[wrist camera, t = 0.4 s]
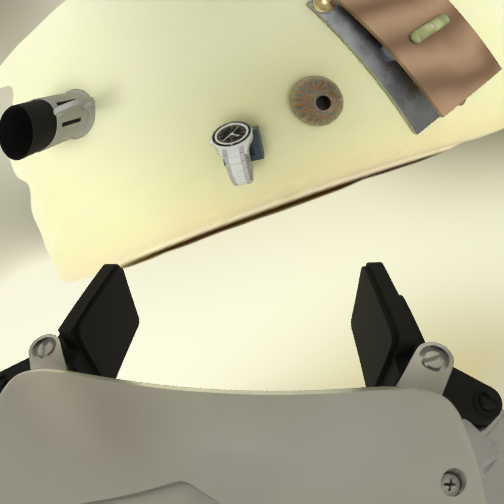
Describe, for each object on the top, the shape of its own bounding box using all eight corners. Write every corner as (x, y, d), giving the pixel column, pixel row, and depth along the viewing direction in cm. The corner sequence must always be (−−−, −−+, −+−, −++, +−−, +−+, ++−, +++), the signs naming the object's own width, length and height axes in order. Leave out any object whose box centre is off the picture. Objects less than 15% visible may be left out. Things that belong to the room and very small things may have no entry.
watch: (255, 113, 41) (251, 121, 31) (266, 165, 45) (265, 188, 35) (217, 121, 42) (201, 132, 32) (229, 172, 46) (218, 197, 36)
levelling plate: (337, 3, 29) (339, -7, 26) (403, -36, 23) (408, -46, 20) (439, 117, 32) (449, 116, 29) (496, 70, 26) (507, 67, 23)
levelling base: (306, 4, 32) (311, -6, 27) (392, -47, 25) (405, -59, 20) (413, 132, 40) (429, 139, 35) (484, 75, 33) (503, 77, 28)
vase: (340, 118, 40) (357, 126, 33) (294, 126, 42) (301, 136, 34) (330, 73, 37) (345, 70, 30) (283, 81, 38) (287, 80, 31)
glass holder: (50, 101, 39) (-10, 116, 26) (116, 68, 37) (59, 69, 24) (62, 145, 44) (5, 172, 31) (128, 119, 42) (76, 138, 29)
